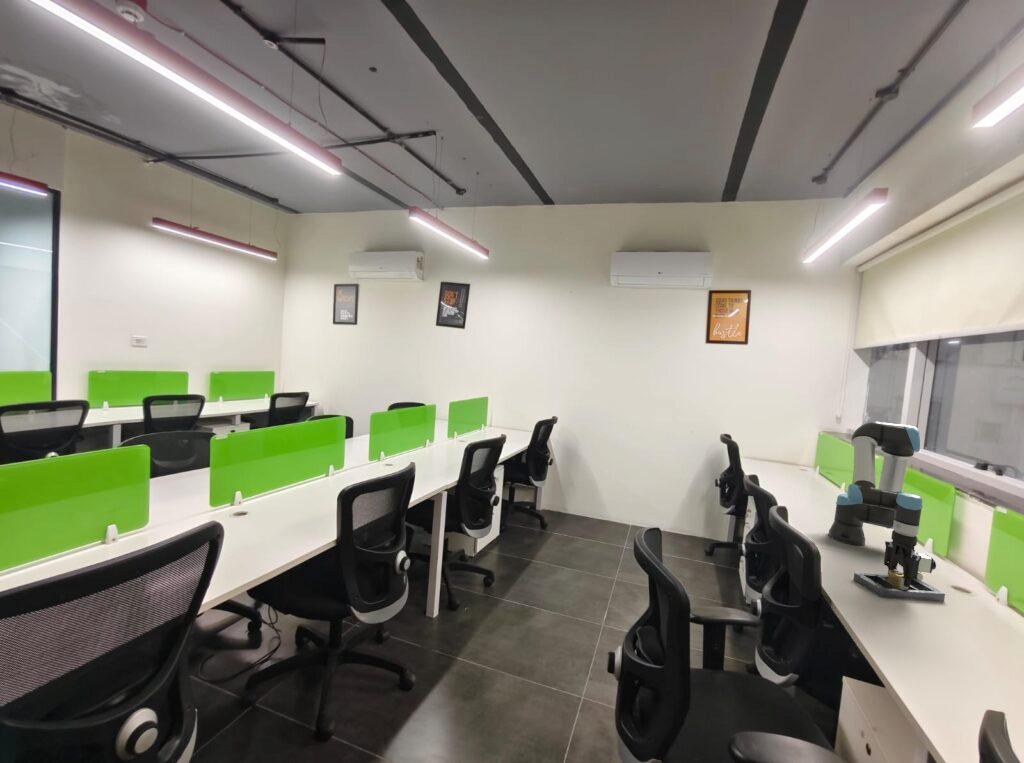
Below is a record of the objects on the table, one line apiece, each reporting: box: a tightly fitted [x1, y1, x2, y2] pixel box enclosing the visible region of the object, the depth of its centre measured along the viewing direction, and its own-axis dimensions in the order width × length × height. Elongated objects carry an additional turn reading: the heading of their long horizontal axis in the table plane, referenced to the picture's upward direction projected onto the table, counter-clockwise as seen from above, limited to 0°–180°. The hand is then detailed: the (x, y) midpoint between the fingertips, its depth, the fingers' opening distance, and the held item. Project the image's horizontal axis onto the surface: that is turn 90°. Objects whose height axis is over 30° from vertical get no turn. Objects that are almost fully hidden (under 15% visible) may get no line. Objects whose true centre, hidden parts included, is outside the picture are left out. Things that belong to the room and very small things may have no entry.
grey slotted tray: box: [853, 572, 946, 602], centre depth 174 cm, size 13×25×3 cm, turn 91°
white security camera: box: [898, 551, 937, 581], centre depth 184 cm, size 6×12×12 cm, turn 78°
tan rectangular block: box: [887, 570, 903, 588], centre depth 173 cm, size 4×4×8 cm
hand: (897, 589), depth 174 cm, fingers open, 5 cm apart
